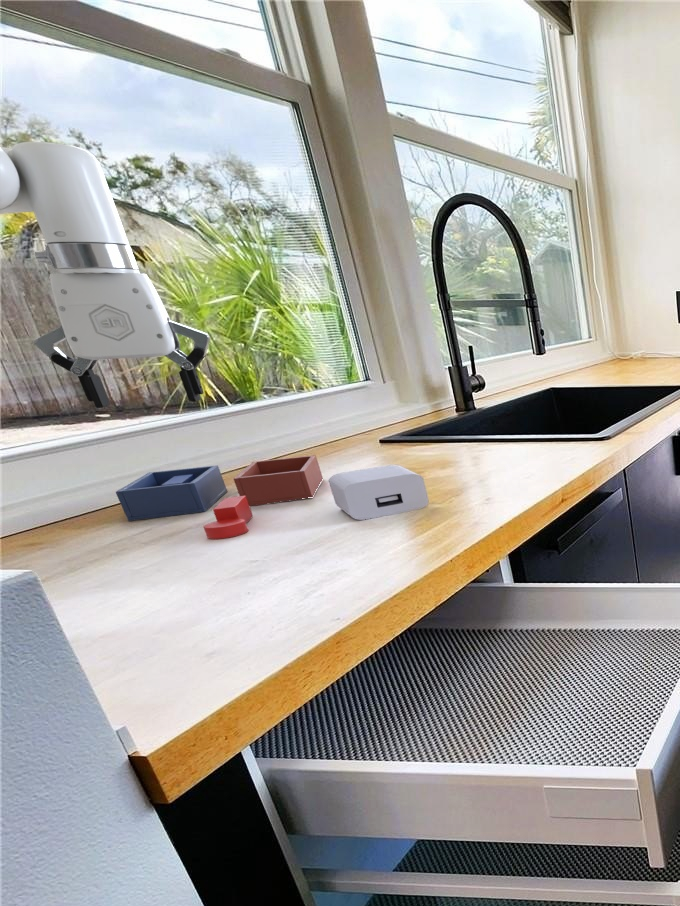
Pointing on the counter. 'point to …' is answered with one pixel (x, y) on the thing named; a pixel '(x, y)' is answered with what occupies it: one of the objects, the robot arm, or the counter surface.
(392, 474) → the charger
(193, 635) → the counter surface
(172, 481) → the navy stepped block
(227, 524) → the red stamp
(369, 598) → the counter surface
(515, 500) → the counter surface
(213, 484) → the navy bin
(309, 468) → the red bin
